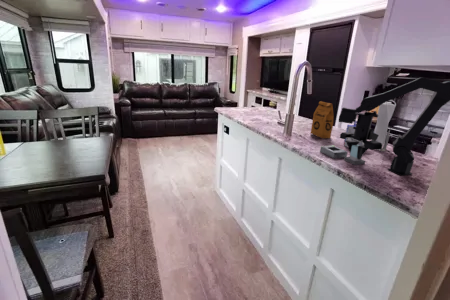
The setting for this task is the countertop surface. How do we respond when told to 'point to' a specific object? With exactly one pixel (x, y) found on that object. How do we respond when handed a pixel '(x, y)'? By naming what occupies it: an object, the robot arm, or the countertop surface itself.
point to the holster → (354, 161)
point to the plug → (354, 153)
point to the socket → (333, 151)
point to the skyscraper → (384, 123)
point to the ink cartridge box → (350, 129)
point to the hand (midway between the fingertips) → (355, 157)
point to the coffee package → (323, 120)
